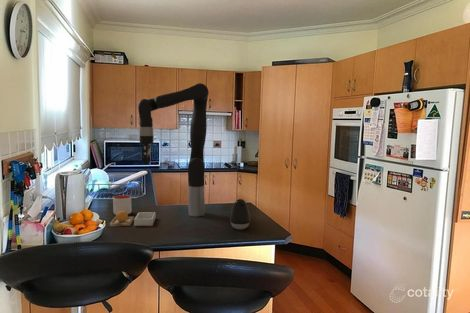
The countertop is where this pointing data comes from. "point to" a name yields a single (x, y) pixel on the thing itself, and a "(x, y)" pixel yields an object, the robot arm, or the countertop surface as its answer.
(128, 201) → the cup
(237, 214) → the black tapered speaker
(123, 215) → the ball
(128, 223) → the tray
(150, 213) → the bin
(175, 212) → the countertop surface
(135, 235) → the countertop surface
